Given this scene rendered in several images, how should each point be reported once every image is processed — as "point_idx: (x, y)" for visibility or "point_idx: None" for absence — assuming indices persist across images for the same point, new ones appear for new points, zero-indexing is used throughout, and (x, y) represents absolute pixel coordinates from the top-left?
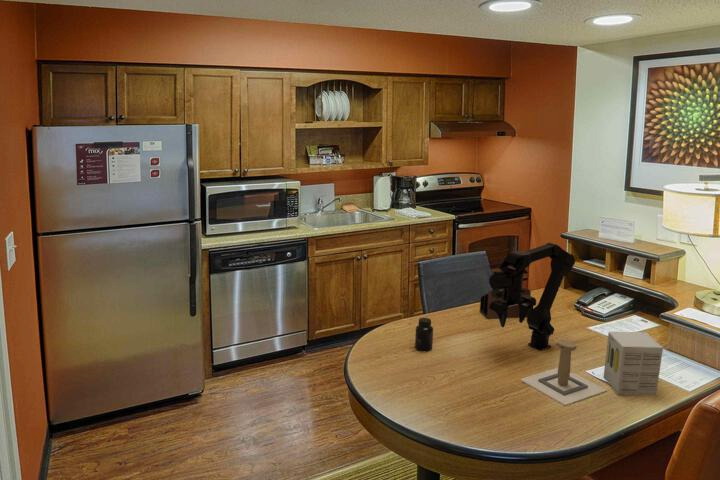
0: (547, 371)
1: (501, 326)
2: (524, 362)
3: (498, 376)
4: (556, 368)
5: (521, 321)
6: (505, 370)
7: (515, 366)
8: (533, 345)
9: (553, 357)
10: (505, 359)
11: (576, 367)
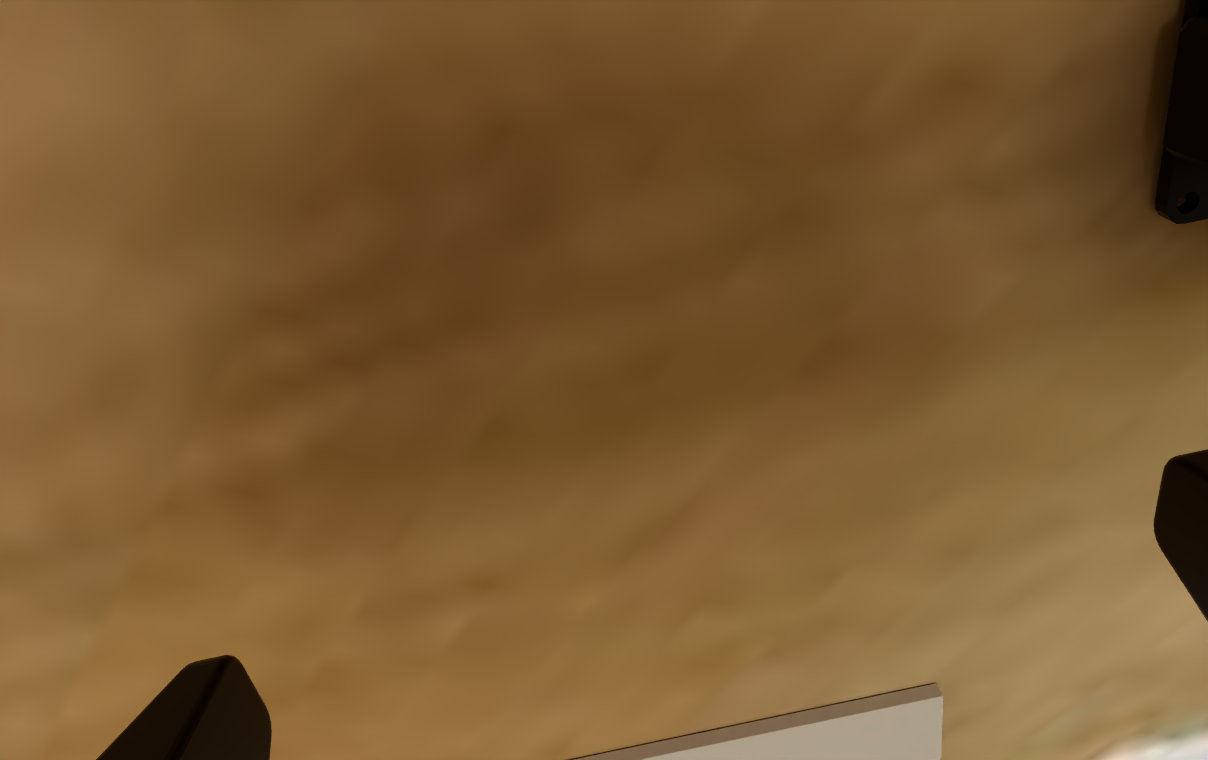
0: (723, 750)
1: (191, 687)
2: (639, 493)
3: (96, 720)
4: (869, 716)
5: (1196, 599)
6: (254, 622)
7: (447, 561)
8: (1179, 107)
9: (1111, 455)
10: (415, 353)
11: (1101, 693)
